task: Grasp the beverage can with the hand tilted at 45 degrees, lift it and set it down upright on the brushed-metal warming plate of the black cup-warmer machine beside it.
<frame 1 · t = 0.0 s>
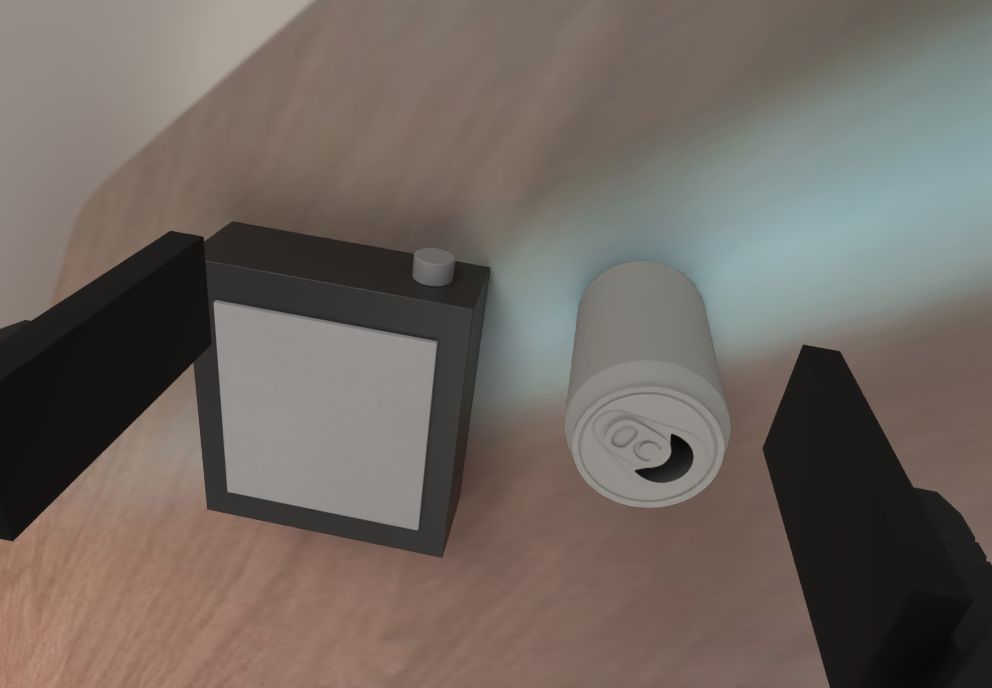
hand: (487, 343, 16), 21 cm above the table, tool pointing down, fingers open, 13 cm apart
cup warmer: (354, 372, 42), on the table
beverage can: (639, 310, 38), on the table
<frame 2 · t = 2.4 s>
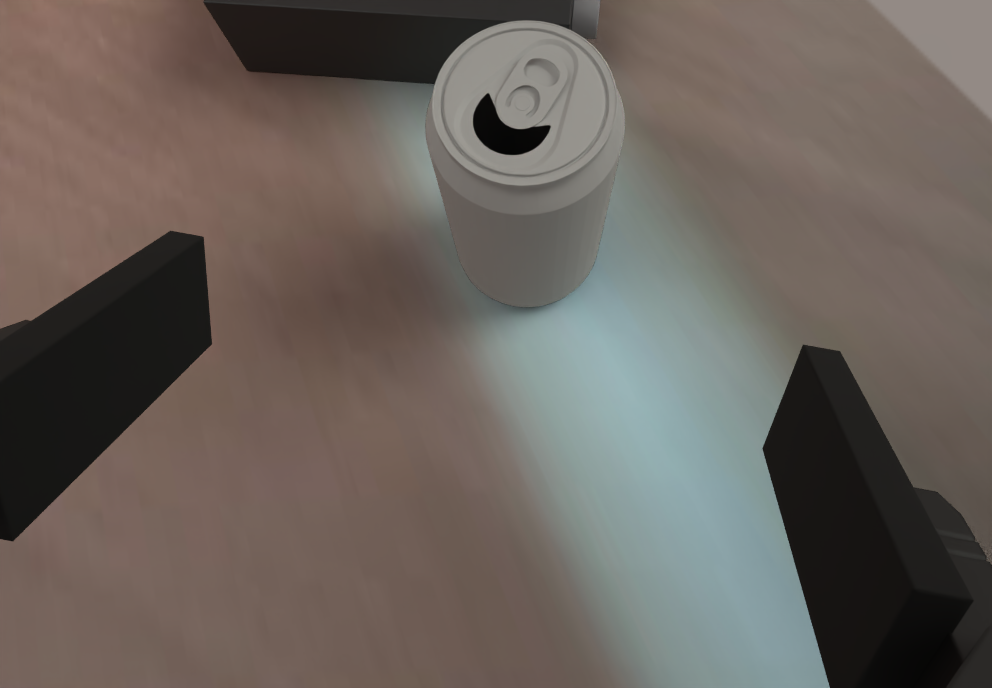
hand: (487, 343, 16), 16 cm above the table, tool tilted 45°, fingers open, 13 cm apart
beverage can: (527, 247, 34), on the table
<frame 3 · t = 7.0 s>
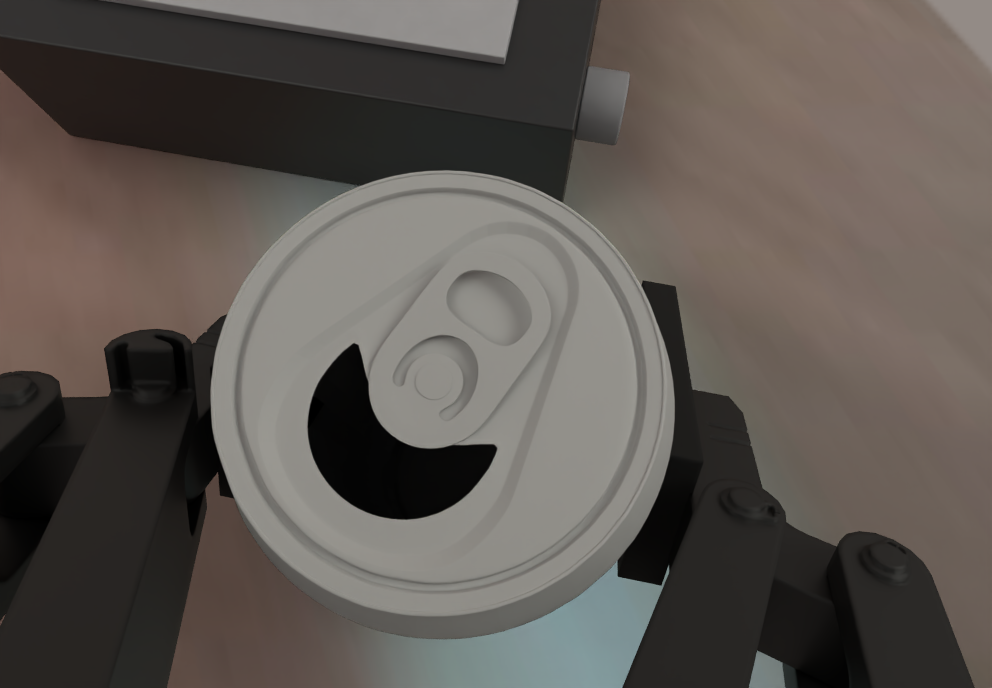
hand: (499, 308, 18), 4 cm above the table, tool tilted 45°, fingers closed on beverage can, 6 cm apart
beverage can: (476, 472, 21), on the table, touching gripper
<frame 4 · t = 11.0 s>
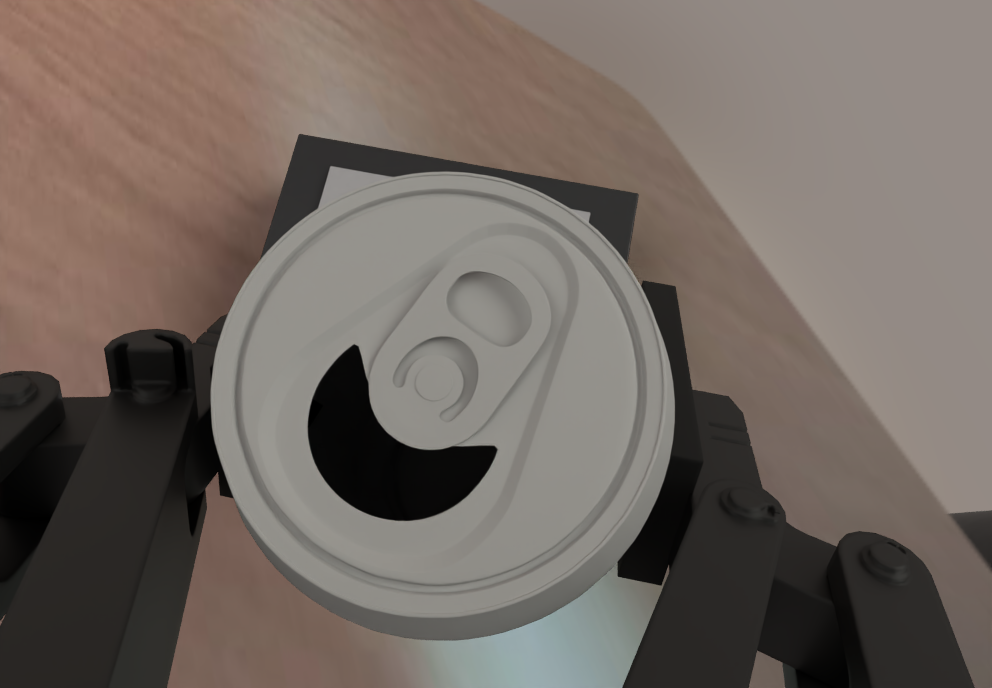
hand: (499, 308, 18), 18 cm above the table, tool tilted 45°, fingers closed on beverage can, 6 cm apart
cup warmer: (442, 336, 37), on the table
beverage can: (476, 473, 21), point 14 cm above the table, touching gripper
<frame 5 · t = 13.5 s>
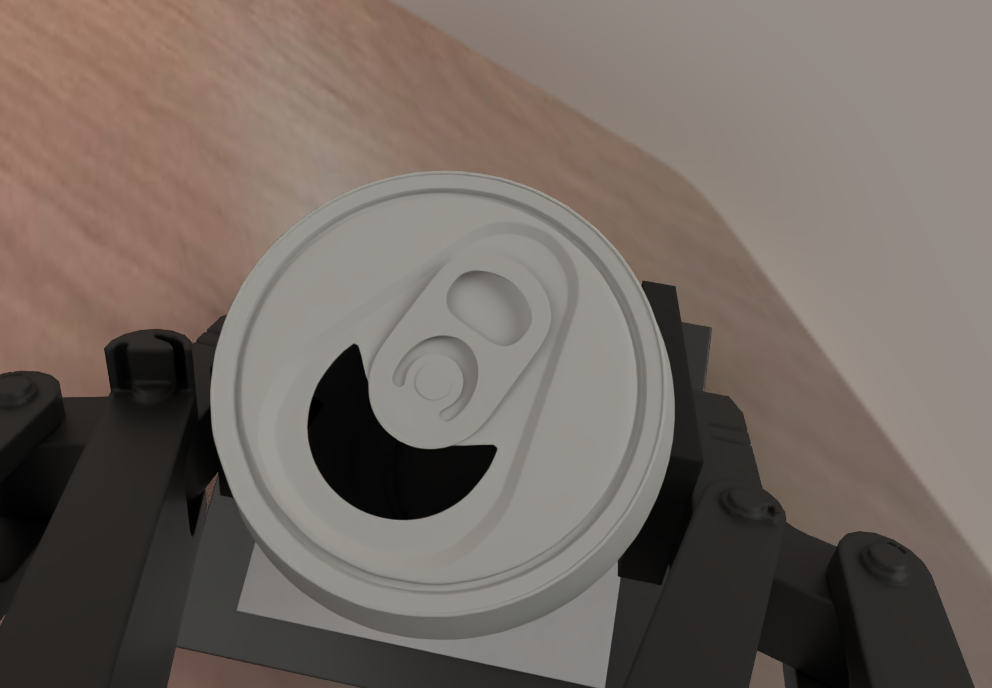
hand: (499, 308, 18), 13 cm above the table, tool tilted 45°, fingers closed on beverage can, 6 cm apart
cup warmer: (462, 489, 30), on the table
beverage can: (476, 472, 21), point 9 cm above the table, touching gripper
when the fingers open (9 cm above the table, at t = 15.1 s): beverage can stays where it is, resting on cup warmer.
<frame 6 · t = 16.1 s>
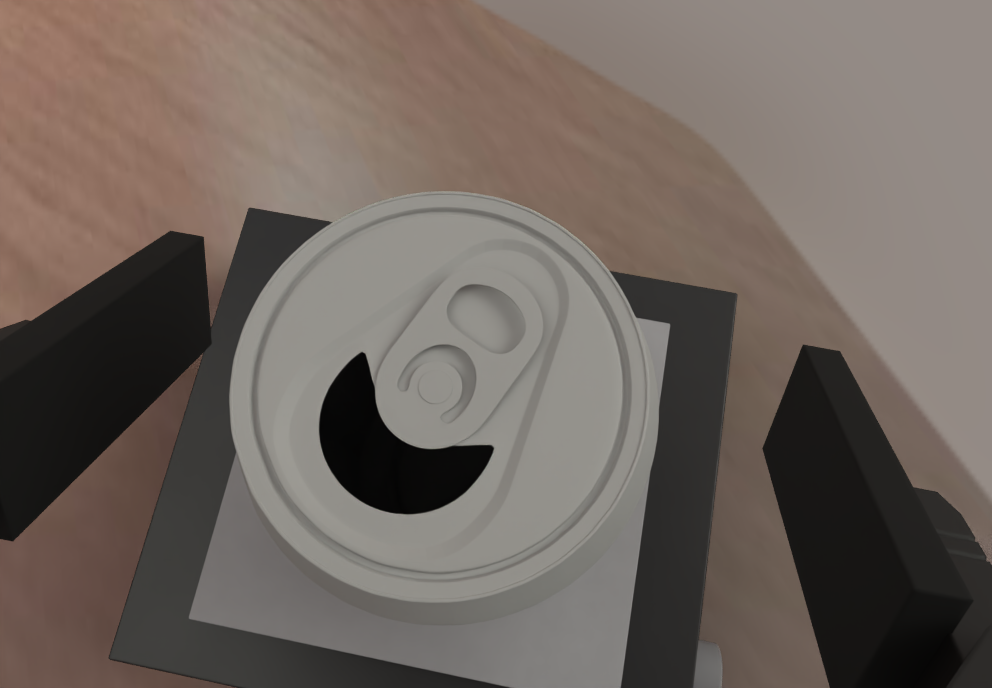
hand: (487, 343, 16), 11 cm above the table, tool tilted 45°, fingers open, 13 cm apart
cup warmer: (453, 480, 26), on the table
beverage can: (474, 472, 21), point 5 cm above the table, touching cup warmer
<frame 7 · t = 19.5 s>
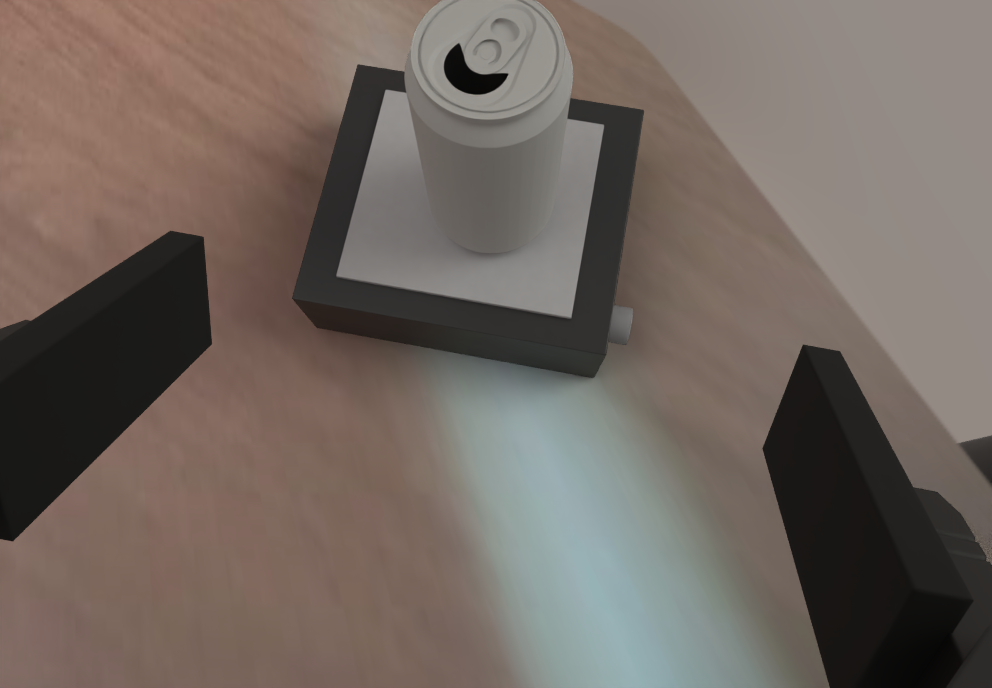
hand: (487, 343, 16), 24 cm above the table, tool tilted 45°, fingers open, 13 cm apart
cup warmer: (477, 239, 43), on the table
beverage can: (492, 203, 38), point 5 cm above the table, touching cup warmer
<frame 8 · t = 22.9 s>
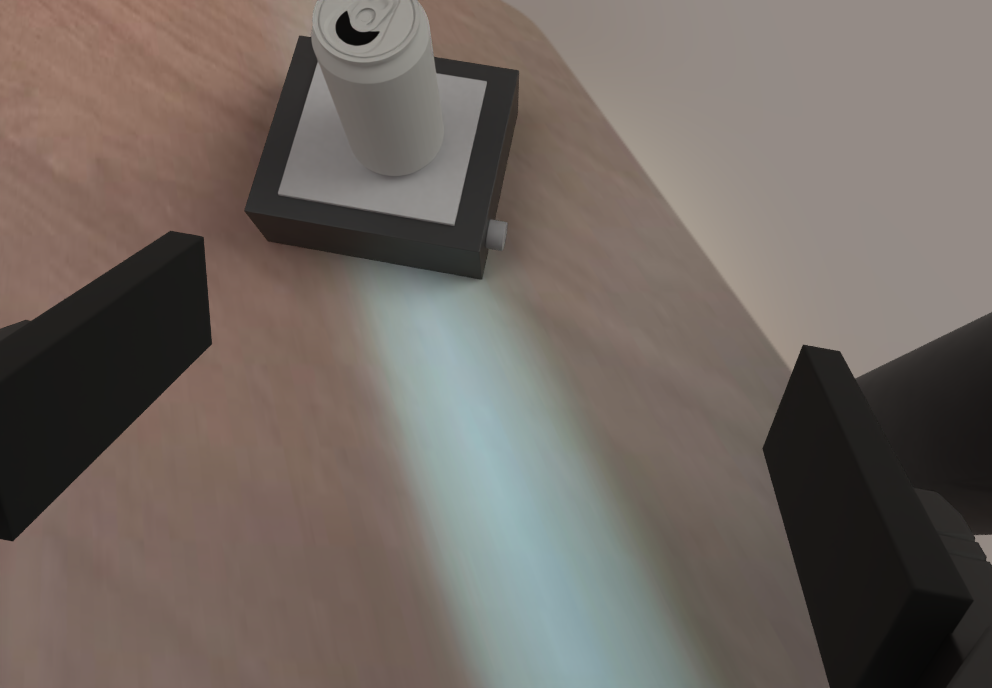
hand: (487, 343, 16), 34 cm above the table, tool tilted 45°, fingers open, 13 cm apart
cup warmer: (395, 174, 55), on the table
beverage can: (398, 140, 50), point 5 cm above the table, touching cup warmer
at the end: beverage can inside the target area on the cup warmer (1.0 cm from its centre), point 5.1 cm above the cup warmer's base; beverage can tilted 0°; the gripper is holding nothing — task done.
